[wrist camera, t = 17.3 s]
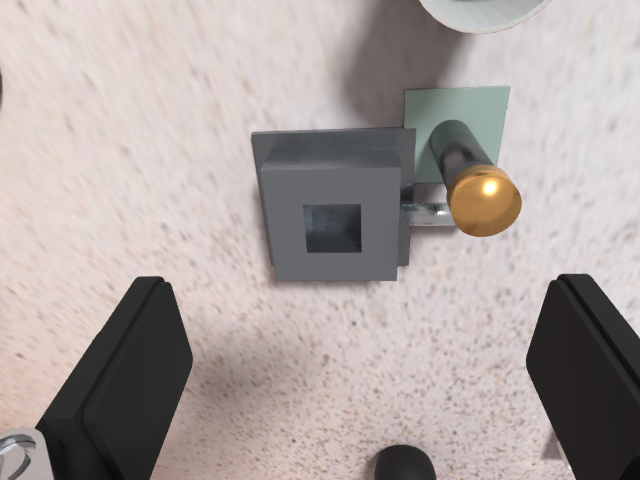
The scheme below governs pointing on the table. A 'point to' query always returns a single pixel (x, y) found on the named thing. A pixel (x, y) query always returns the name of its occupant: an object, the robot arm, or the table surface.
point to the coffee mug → (482, 13)
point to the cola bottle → (404, 465)
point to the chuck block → (341, 202)
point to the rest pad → (454, 104)
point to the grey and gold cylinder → (473, 182)
